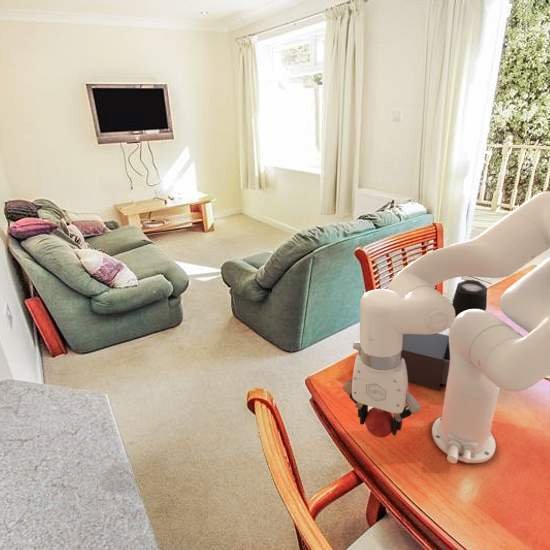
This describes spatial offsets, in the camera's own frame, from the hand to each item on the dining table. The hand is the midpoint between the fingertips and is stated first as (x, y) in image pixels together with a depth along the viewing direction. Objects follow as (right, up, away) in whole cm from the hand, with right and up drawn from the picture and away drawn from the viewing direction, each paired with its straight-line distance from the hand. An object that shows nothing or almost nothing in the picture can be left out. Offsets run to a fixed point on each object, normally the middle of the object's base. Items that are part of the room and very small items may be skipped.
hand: (379, 424), depth 77 cm
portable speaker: (+37, +10, +39) cm, 54 cm away
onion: (0, -3, +1) cm, 3 cm away
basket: (+30, +3, +21) cm, 36 cm away
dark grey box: (+18, +4, +28) cm, 34 cm away
